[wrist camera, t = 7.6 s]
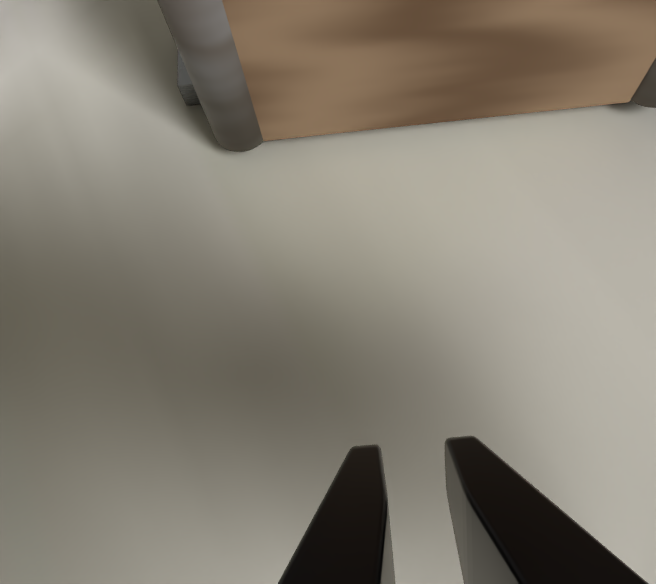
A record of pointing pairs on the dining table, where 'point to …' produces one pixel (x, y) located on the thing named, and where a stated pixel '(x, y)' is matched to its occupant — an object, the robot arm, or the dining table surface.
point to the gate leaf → (405, 61)
